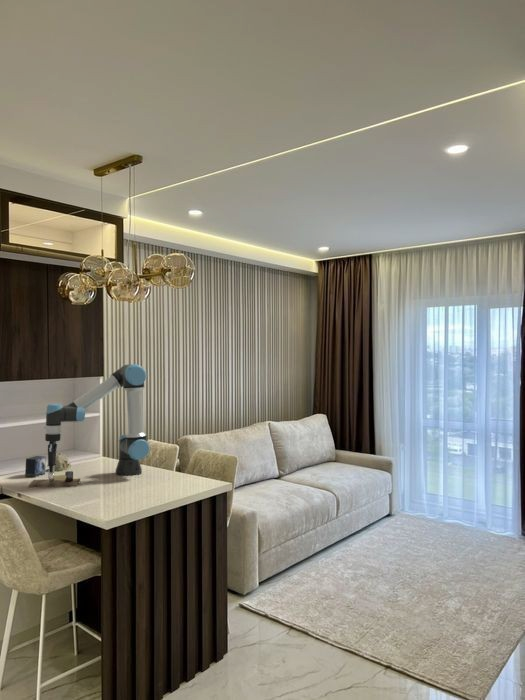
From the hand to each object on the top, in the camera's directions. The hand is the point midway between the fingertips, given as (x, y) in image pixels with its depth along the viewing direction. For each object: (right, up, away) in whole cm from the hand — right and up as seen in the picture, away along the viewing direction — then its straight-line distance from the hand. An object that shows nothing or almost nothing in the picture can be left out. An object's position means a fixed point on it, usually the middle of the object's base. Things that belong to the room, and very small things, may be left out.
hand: (51, 477), depth 283 cm
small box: (-19, -5, +24) cm, 31 cm away
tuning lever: (+5, -2, +1) cm, 5 cm away
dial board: (+1, -4, +2) cm, 5 cm away
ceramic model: (-12, -6, +44) cm, 46 cm away
